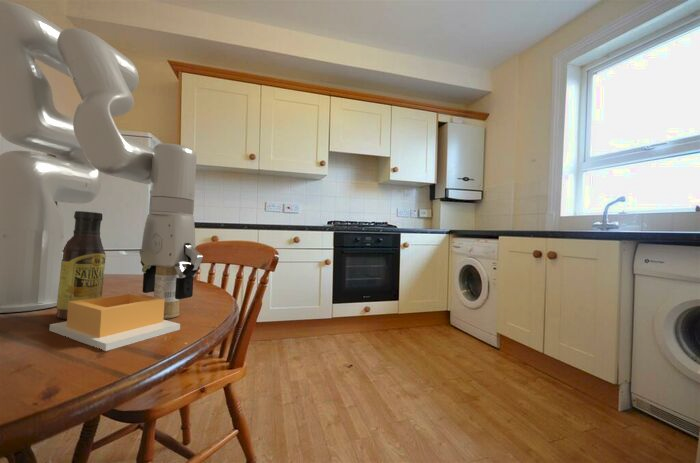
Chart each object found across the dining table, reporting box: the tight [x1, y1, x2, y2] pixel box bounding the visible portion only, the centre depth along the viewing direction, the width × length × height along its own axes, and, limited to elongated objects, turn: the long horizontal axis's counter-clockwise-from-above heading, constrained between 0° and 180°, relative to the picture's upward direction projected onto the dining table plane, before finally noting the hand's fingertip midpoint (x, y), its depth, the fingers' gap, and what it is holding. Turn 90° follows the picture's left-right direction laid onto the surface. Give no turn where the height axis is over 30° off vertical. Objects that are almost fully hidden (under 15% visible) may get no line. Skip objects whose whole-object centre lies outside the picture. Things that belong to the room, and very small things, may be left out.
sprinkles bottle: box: [153, 266, 180, 320], centre depth 58 cm, size 5×5×13 cm
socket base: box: [49, 291, 181, 352], centre depth 49 cm, size 16×11×5 cm
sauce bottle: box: [56, 210, 107, 320], centre depth 56 cm, size 7×6×20 cm
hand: (167, 294), depth 58 cm, fingers open, 9 cm apart
